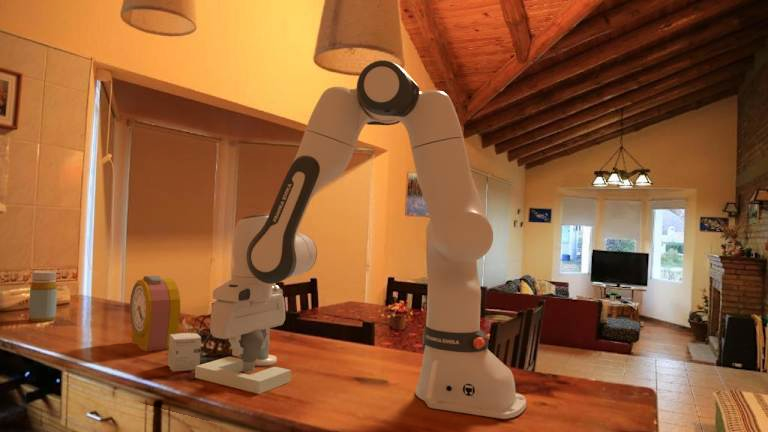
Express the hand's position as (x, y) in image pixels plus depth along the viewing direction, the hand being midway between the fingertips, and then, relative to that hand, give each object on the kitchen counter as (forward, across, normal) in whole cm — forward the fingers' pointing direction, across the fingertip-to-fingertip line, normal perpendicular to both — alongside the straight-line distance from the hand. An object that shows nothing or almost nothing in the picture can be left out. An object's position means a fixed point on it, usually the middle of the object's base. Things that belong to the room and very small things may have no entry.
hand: (249, 351), depth 117 cm
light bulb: (+4, 0, 0) cm, 5 cm away
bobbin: (+6, -12, -6) cm, 14 cm away
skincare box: (+6, +2, -17) cm, 18 cm away
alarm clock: (+6, -7, -39) cm, 40 cm away
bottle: (+6, -7, -89) cm, 90 cm away
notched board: (+6, +2, 0) cm, 6 cm away
